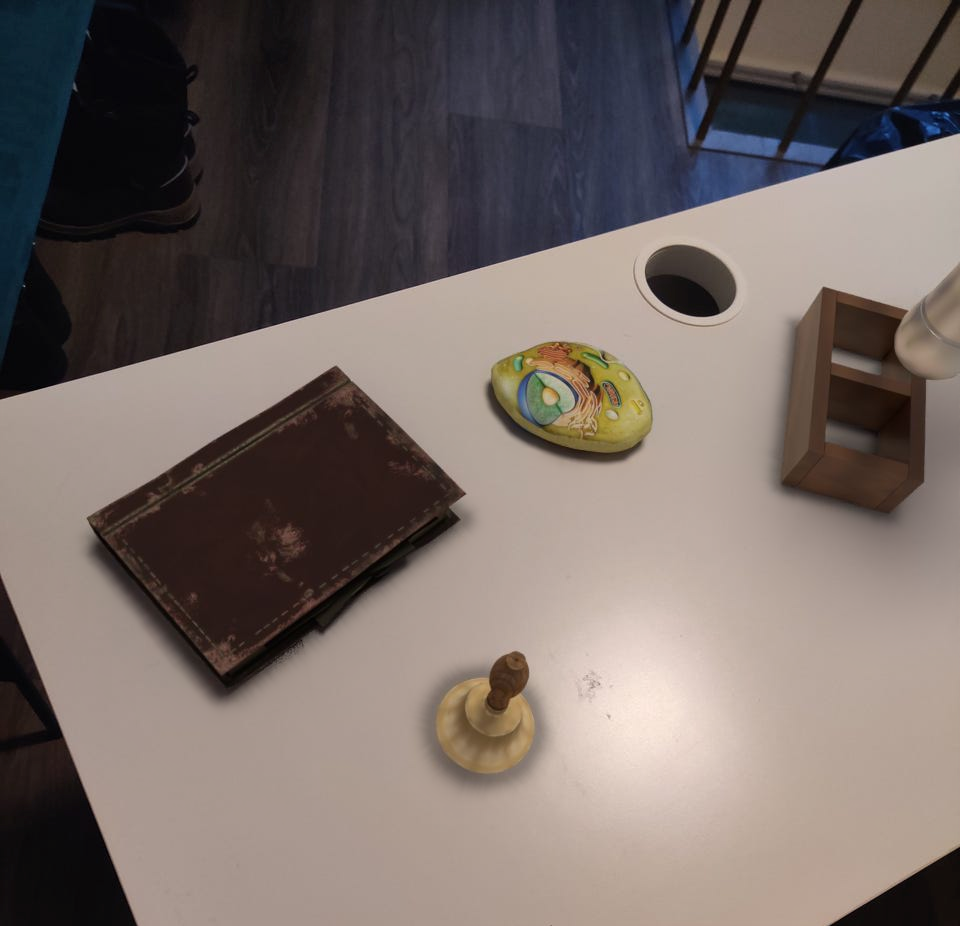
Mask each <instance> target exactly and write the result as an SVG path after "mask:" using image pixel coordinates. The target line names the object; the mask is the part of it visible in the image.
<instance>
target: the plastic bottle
mask: <svg viewBox="0 0 960 926" xmlns="http://www.w3.org/2000/svg"><path fill="white" fill-rule="evenodd" d="M908 310H909V311H908V312H907V313H906V315H905V316H904V317H903V319H902V321H901V323H900V325H899V326H898V328H897V330H896V333H895V339H894V342H895V352H896V355H897V357H898V359H899V361H900V362H901V363H902V364H903V366H904V367H905V368H906V369H908V370H909V371H910V372H912V373H913V374H915V375H917V376H918V377H921V378H924V379H926V381H936V382H937V381H942V380H949V379H952V378H955V377H957V376H959V375H960V261H959V262H958V263H957V264H956V266H955V267H954V268H953V269H951V271H950V272H949V273H948V274H947V275H946V276H945V277H944V278H943V279H941V281H940V282H939V283H938V284H937V285H936V286H935V287H934V288H933V289H932V291H930V293H928V294H926V295H925V296H923V298H921V299H920V300H919V301H918V302H917V303H916V304H914V305H913V306H912V307H911V308H910V309H908Z"/></svg>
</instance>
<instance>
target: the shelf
mask: <svg viewBox="0 0 960 926" xmlns="http://www.w3.org/2000/svg"><path fill="white" fill-rule="evenodd" d="M909 310H910V309H906V308H902V307H898V306H894V305H892V304H891V305H890V304H887V303H884V302H880V301H876V300H872V299H869V298H865V297H862V296H858V295H855V294H852V293H849V292H844V291H841V290H837V289H835V288H830V287H827V286H822V287H821V289H820V291H819V292H818V294H817V295H816V296H815V298H814V300H813V301H812V302H811V304H810V305H809V307H808V309H807V311H806V312H805V313H804V315H803V317H802V318H801V320H800V321H799V322H798V324H797V326H796V332H795V333H796V334H795V343H794V351H793V352H794V353H793V361H792V370H791V379H790V380H791V382H790V389H789V399H788V410H787V417H786V418H787V419H786V428H785V429H786V430H785V438H784V447H783V456H782V457H783V458H782V465H781V466H782V467H781V477H780V484H781V485H783V486H788V487H791V488H795V489H798V490H802V491H805V492H810V493H813V494H817V495H821V496H824V497H828V498H832V499H835V500H838V501H842V502H847V503H850V504H854V505H857V506H861V507H864V508H868V509H871V510H876V511H879V512H882V513H886V514H891V513H892V512H893V511H894V510H895V509H896V508H897V507H898V506H900V504H902V503H903V502H904V501H905V500H906V499H907V498H908V497H910V496H911V495H912V494H913V493H914V492H915V491H916V490H917V489H919V488H920V487H921V486H922V485H923V484H924V483H925V463H926V461H925V460H926V459H925V458H926V457H925V456H926V420H927V419H926V417H927V411H926V410H927V379H924V378H921V377H918V376H917V375H915V374H913V373H912V372H910V371H909V370H908V369H906V368H905V367H904V366H903V364H902V363H901V362H900V361H899V359H898V357H897V355H896V352H895V342H894V339H895V333H896V330H897V328H898V326H899V325H900V323H901V321H902V319H903V317H904V316H905V315H906V313H907V312H908V311H909ZM833 348H836V349H839V350H843V351H847V352H851V353H854V354H858V355H861V356H864V357H869V358H872V359H876V360H879V361H881V372H880V373H881V374H880V375H879V374H874V373H871V372H868V371H864V370H861V369H857V368H854V367H850V366H846V365H843V364H839V363H835V362H832V358H833ZM828 419H832V420H834V421H835V420H836V421H839V422H842V423H846V424H850V425H853V426H856V427H859V428H864V429H866V430H867V429H868V430H871V431H874V432H878V436H877V437H878V439H877V453H876V455H875V454H871V453H868V452H865V451H861V450H857V449H853V448H849V447H846V446H843V445H839V444H835V443H832V442H828V441H826V435H827V434H826V432H827V421H828Z"/></svg>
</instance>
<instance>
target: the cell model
mask: <svg viewBox="0 0 960 926" xmlns="http://www.w3.org/2000/svg"><path fill="white" fill-rule="evenodd" d="M490 373H491V374H490V381H491V385H492V388H493V392H494V395H495V397H496V400H497V401H498V403H499V404H500V405H501V407H502V408H503V409H504V410H505V412H506V413H507V414H508V415H509V416H510V418H511V419H512V420H513V421H514V422H515V423H516V424H517V425H518V426H519V427H520V428H522V429H524V430H525V431H526V432H529V433H531V434H533V435H535V436H537V437H539V438H541V439H543V440H545V441H548V442H551V443H553V444H557V445H558V446H562V447H567V448H570V449H575V450H578V451H579V450H580V451H586V452H596V453H604V454H605V453H606V454H607V453H609V454H610V453H618V452H622V451H626V450H628V449H631V448H633V447H634V446H636V445H637V444H638V443H640V442H641V441H642V440H644V439H645V438H646V437H647V436H648V435H649V434H650V433H651V431H652V428H653V421H654V420H653V419H654V418H653V407H652V403H651V400H650V398H649V396H648V394H647V393H646V390H645V389H644V387H643V386H642V384H641V382H640V380H639V379H638V377H637V376H636V375H635V373H634V372H633V371H632V370H631V369H630V368H629V367H628V366H627V365H626V363H624V362H622V361H621V360H620V359H619V358H618V357H616V356H614V355H612V354H611V353H609V352H608V351H606V350H605V349H601V348H600V347H597V346H595V345H592V344H589V343H586V342H585V343H584V342H578V341H577V342H576V341H566V340H552V341H546V342H542V343H539V344H537V345H534V346H532V347H530V348H528V349H525V350H522V351H518V352H515V353H513V354H511V355H509V356H507V357H505V358H501V359H500V360H498V361H497V362H495V363H494V364H493V365H492V367H491V370H490Z"/></svg>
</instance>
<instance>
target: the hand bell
mask: <svg viewBox="0 0 960 926" xmlns="http://www.w3.org/2000/svg"><path fill="white" fill-rule="evenodd" d="M529 678H530V667H529V664H528V662H527V659H526V656H525V654H524V653H522V652H520V651H518V650H514V651H511V652H510V653H506V654H504V655H501V656H500V657H498V658H497V659H496V660H495V662H494V663H493V665H492V667H491V669H490V671H489V676H488V677H476V678H470V679H467V680H464V681H461V682H460V683H458V684H457V685H455V686H453V687H452V688H451V689H450V690H449V691H448V692H447V693H446V694H445V695H444V696H443V698H442V700H441V701H440V703H439V706H438V707H437V711H436V716H435V732H436V737H437V740H438V742H439V745H440V747H441V749H442V750H443V752H444V753H445V754H446V756H447V757H448V758H449V759H450V760H451V761H453V762H454V764H456V765H458V766H459V767H461V768H463V769H465V770H467V771H470V772H472V773H476V774H496V773H501V772H503V771H507V770H509V769H510V768H513V767H514V766H516V765H517V764H518V763H519V762H520V761H521V760H523V759H524V757H525V756H526V755H527V753H528V751H529V750H530V748H531V746H532V742H533V740H534V737H535V718H534V714H533V712H532V709H531V707H530V705H529V703H528V701H527V699H525V697H524V696H523V695H522V694H521V693H522V692H523V691H524V689H525V688H526V686H527V684H528V682H529Z"/></svg>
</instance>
